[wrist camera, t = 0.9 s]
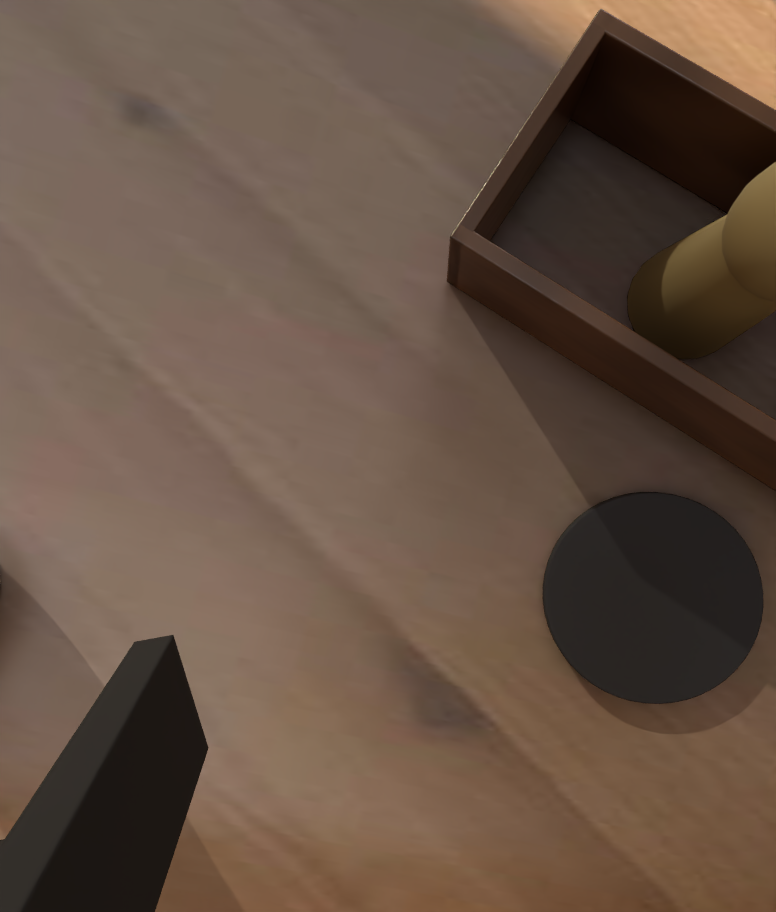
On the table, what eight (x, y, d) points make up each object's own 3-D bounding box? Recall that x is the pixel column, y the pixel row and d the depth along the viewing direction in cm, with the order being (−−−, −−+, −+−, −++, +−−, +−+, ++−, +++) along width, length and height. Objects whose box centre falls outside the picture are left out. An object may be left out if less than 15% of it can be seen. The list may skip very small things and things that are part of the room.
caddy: (943, 325, 28) (1084, 288, 22) (810, 513, 28) (912, 528, 22) (566, 99, 29) (600, 7, 23) (445, 281, 30) (449, 236, 24)
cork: (767, 323, 28) (979, 238, 17) (662, 380, 29) (804, 332, 18) (709, 223, 29) (882, 78, 18) (606, 281, 29) (711, 174, 18)
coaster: (800, 569, 28) (808, 571, 28) (678, 740, 29) (683, 746, 28) (618, 451, 29) (622, 451, 28) (502, 620, 29) (503, 623, 29)
